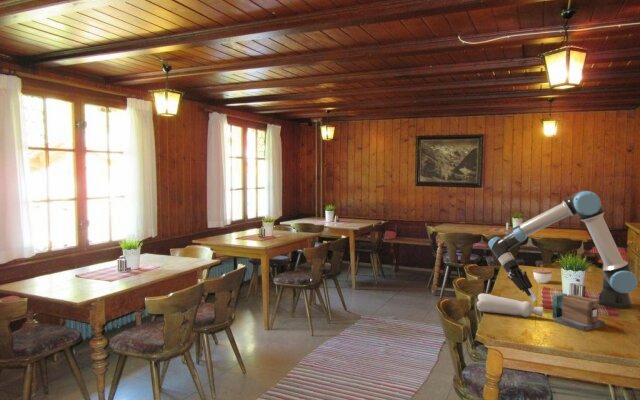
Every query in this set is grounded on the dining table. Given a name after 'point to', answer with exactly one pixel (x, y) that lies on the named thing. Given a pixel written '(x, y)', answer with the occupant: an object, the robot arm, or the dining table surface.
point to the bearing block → (579, 313)
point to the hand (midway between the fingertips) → (535, 300)
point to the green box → (559, 305)
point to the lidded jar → (542, 275)
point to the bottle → (506, 306)
